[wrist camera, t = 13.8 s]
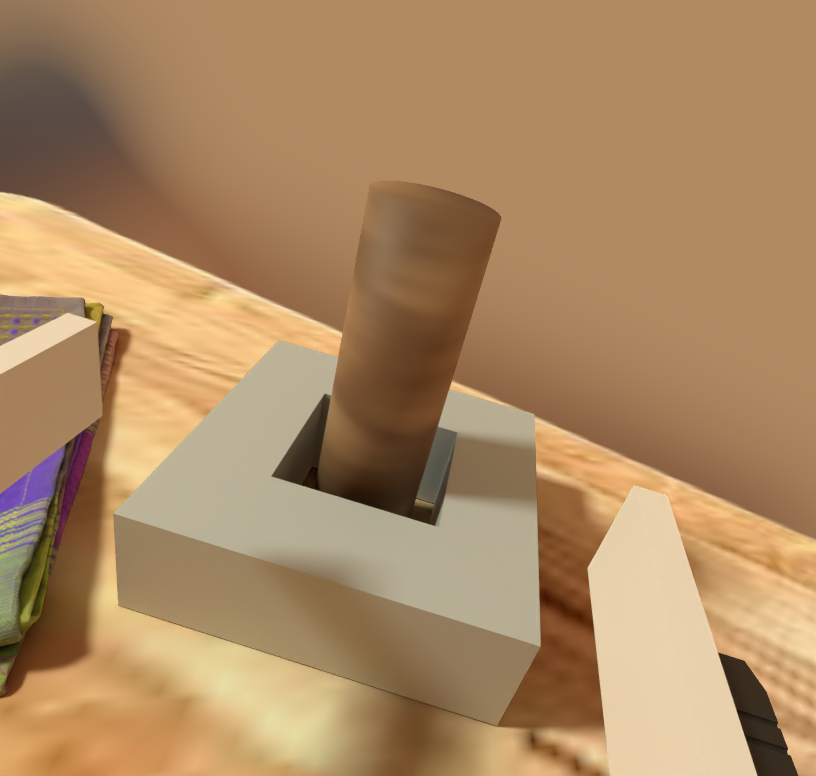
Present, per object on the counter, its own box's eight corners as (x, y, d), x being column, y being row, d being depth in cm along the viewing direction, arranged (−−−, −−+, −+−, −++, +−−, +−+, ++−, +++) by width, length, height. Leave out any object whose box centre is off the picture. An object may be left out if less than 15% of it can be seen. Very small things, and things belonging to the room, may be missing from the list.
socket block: (507, 479, 32) (534, 414, 29) (496, 726, 20) (540, 646, 17) (270, 409, 32) (279, 339, 30) (118, 605, 20) (113, 513, 18)
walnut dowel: (410, 511, 28) (503, 206, 20) (392, 580, 24) (498, 234, 16) (324, 486, 28) (385, 173, 20) (293, 550, 24) (353, 195, 17)
